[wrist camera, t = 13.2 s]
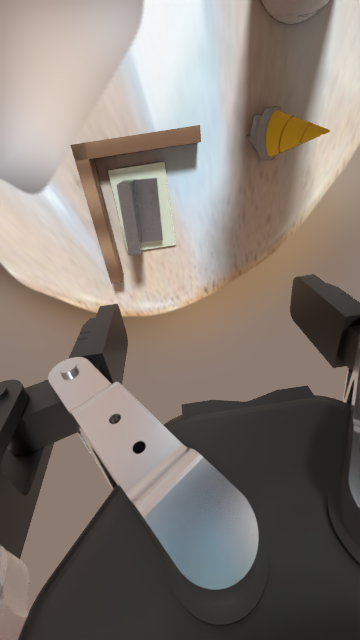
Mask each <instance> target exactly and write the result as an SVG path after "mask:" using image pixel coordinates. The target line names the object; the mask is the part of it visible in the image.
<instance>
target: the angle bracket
mask: <svg viewBox="0 0 360 640" xmlns="http://www.w3.org/2000/svg"><path fill="white" fill-rule="evenodd" d="M117 190H118V196H119V202H120V208H121V213H122V219H123V225H124V231H125V236H126V242H127V248H128V254H129V255H137V254H141V248H142V242H146V241H157V240H163V235H162V225H161V215H160V205H159V195H158V185H157V178H145V179H133V180H123V181H121V182H120V183H119V184H117Z"/></svg>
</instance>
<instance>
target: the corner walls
mask: <svg viewBox="0 0 360 640" xmlns="http://www.w3.org/2000/svg"><path fill="white" fill-rule="evenodd" d="M199 142H201V134H200V125H197V126H191V127H184V128H178V129H172V130H165V131H159V132H152V133H146V134H139V135H133V136H126V137H120V138H113V139H107V140H100V141H94V142H87V143H81V144H74V145H71V148H72V152H73V155H74V158H75V162H76V165H77V169H78V172H79V175H80V179H81V182H82V186H83V189H84V192H85V196H86V199H87V203H88V206H89V209H90V213H91V216H92V220H93V223H94V226H95V230H96V233H97V237H98V240H99V243H100V247H101V250H102V254H103V257H104V260H105V264H106V267H107V271H108V274H109V277H110V281H111V283H115V282H122V278H123V275H124V274H123V270H122V266H121V262H120V258H119V254H118V251H117V247H116V243H115V239H114V235H113V231H112V228H111V224H110V220H109V216H108V212H107V208H106V205H105V201H104V197H103V193H102V189H101V185H100V182H99V178H98V174H97V170H96V166H95V163H94V159H96V158H102V157H109V156H115V155H122V154H128V153H135V152H141V151H148V150H154V149H161V148H167V147H174V146H180V145H187V144H193V143H199Z"/></svg>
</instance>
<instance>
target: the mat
mask: <svg viewBox="0 0 360 640" xmlns="http://www.w3.org/2000/svg"><path fill="white" fill-rule="evenodd" d="M108 174H109V178H110V182H111V186H112V190H113V194H114V198H115V203H116V207H117V211H118V215H119V219H120V223H121V227H122V232H123V236H124V240H125V244H126V248H127V242H126V236H125V231H124V225H123V219H122V213H121V208H120V202H119V196H118V190H117V184H119V183H120V182H121V181H123V180H133V179H145V178H157V185H158V195H159V205H160V215H161V225H162V235H163V240H157V241H146V242H142V248H141V250H146V249H153V248H159V247H166V246H172V245H176V242H175V235H174V227H173V220H172V213H171V206H170V199H169V191H168V184H167V177H166V170H165V163H164V162H159V163H153V164H146V165H140V166H133V167H127V168H120V169H114V170H108ZM127 252H128V248H127Z"/></svg>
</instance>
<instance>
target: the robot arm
mask: <svg viewBox="0 0 360 640" xmlns="http://www.w3.org/2000/svg"><path fill="white" fill-rule="evenodd" d="M261 1H262V3H263V5H264V7H265V9H266V10H267V11H268V12H269V14H270V15H271V16H272V17H274V18H275V19H276V20H278V21H280V22H283V23H286V24H296V23H299V22H302V21H305V20H306V19H308V18H310V17H311V16H313V15H314V14H315V13H316V12H317V11H319V10H320V9H321V8H323V7H324V6H325V5H326V4H327V3H328V2H329V1H330V0H261ZM290 312H291V317H292V319H293V321H294V322H295V323H296V324H297V325H298V326H299V327H300V329H301V330H302V331H303V333H304V334H305V335H306V336H307V337H308V339H309V340H310V341H311V342H312V343H313V344H314V346H315V347H316V348H317V349H318V350H319V352H320V353H321V354H322V355H323V356H324V357H325V359H326V360H327V361H328V362H329V363H330V365H331V366H332V367H333V368H336V367H343V366H347V367H348V368H349V369H348V372H347V376H346V382H345V388H344V394H343V400H342V401H339V400H336V399H333V398H329V397H324V396H315V395H313V393H312V392H311V390H310V389H309V387H308V386H302V387H295V388H288V389H282V390H276V391H274V392H271V393H268V394H266V395H264V396H261V397H258V398H256V399H253V400H251V401H248V402H239V401H221V400H209V401H203V402H196V403H190V404H183V405H182V414H183V415H180V416H178V417H176V418H174V419H172V420H170V421H169V422H167V423H166V424H164V425H162V424H161V423H160V422H159V421H158V420H157V419H156V418H155V417H154V416H153V415H152V414H151V413H150V412H149V411H148V410H147V409H146V408H145V407H144V406H143V405H142V404H141V403H140V402H139V401H138V400H137V399H136V398H135V397H134V396H133V395H131V394H130V393H129V392H128V391H127V390H126V389H125V388H124V387H123V386H122V380H123V373H124V367H125V359H126V353H127V347H128V340H127V334H126V329H125V326H124V323H123V319H122V316H121V312H120V309H119V306H118V305H117V304H113V305H106V306H100V308H99V310H98V313H97V316H96V318H92V319H89V320H88V321H87V322H86V323H85V324H84V325H83V327H82V329H81V332H80V335H79V336H78V338H77V341H76V343H75V345H74V348H73V350H72V352H71V355H70V357H69V359H67V360H64V361H62V362H61V363H59V364H58V365H56V366H55V367H54V368H53V369H52V370H51V372H50V373H49V375H48V380H46V381H44V382H41V383H38V384H35V385H33V386H30V387H27V388H24V387H23V385H22V384H21V382H20V381H17V380H7V381H3V382H0V640H360V303H359V302H358V301H357V300H355V299H353V298H352V297H351V296H350V295H348V294H346V292H344V291H343V290H341V289H340V288H339V287H336V286H333V285H331V284H328V283H325V282H324V281H322V280H321V279H320V278H318V277H317V276H316V275H314V274H312V275H305V276H299V277H296V278H294V280H293V287H292V296H291V305H290ZM74 433H78V435H79V436H80V438H81V440H82V441H83V443H84V444H85V446H86V448H87V449H88V451H89V452H90V454H91V455H92V457H93V458H94V460H95V461H96V463H97V465H98V466H99V468H100V470H101V471H102V473H103V475H104V476H105V478H106V480H107V481H108V483H109V485H110V486H111V488H112V489H113V491H112V492H111V494H110V495H109V496H108V498H107V499H106V500H105V502H104V503H103V505H102V506H101V507H100V509H99V510H98V512H97V513H96V514H95V516H94V517H93V518H92V520H91V521H90V523H89V524H88V525H87V527H86V528H85V529H84V531H83V532H82V534H81V535H80V536H79V538H78V539H77V541H76V542H75V543H74V545H73V546H72V547H71V549H70V550H69V552H68V553H67V554H66V556H65V557H64V559H63V560H62V561H61V563H60V564H59V566H58V567H57V568H56V570H55V571H54V572H53V574H52V575H51V577H50V578H49V579H48V581H47V582H46V584H45V585H44V587H43V588H42V590H41V591H40V593H39V594H38V596H37V598H36V600H35V601H34V603H33V605H32V607H31V609H30V611H29V613H28V608H27V595H28V589H29V571H28V569H27V566H26V565H25V564H24V563H23V562H22V561H21V560H20V557H21V553H22V550H23V546H24V543H25V540H26V536H27V533H28V529H29V526H30V522H31V519H32V516H33V512H34V509H35V506H36V502H37V499H38V496H39V492H40V489H41V485H42V482H43V478H44V475H45V471H46V468H47V465H48V461H49V458H50V455H51V451H52V448H53V444H54V442H56V441H58V440H60V439H63V438H65V437H67V436H70V435H72V434H74Z"/></svg>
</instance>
